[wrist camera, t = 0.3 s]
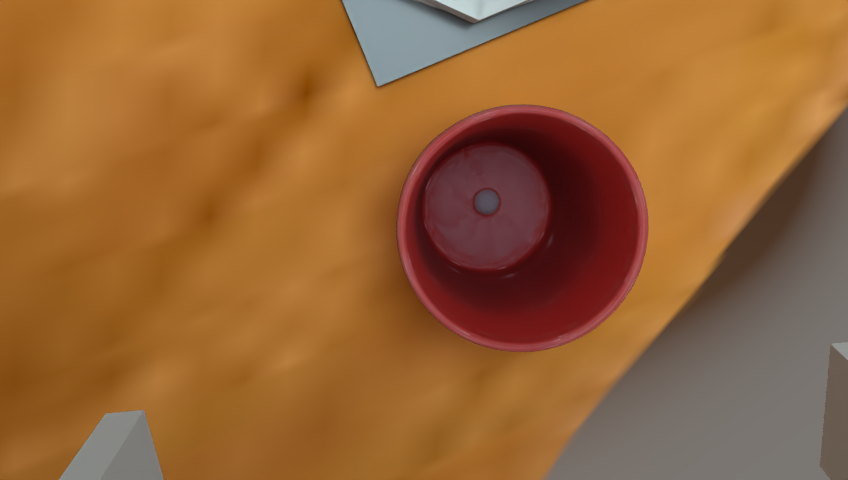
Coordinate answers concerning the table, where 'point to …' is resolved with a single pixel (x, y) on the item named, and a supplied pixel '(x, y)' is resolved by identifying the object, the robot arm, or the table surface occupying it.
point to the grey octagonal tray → (435, 29)
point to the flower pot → (522, 227)
